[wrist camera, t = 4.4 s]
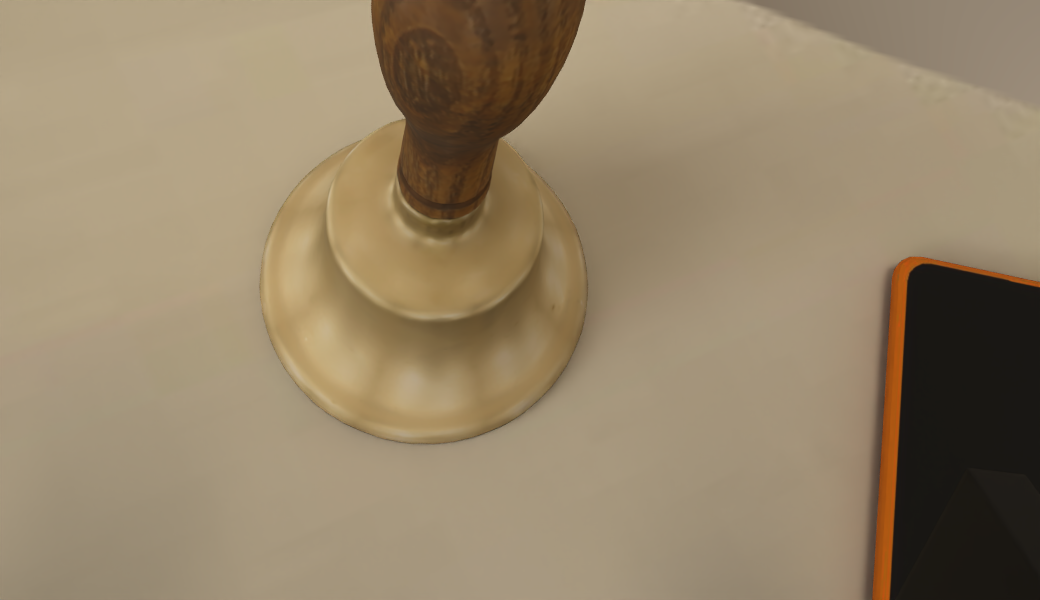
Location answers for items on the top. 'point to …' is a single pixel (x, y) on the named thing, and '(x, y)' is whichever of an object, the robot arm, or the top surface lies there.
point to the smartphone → (952, 398)
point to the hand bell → (434, 235)
